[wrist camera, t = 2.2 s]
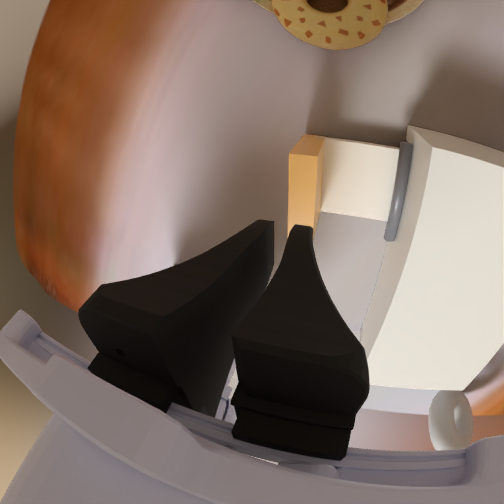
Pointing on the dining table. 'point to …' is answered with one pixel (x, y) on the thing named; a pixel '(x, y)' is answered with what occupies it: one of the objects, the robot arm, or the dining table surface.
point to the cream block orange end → (339, 179)
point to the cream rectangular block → (439, 267)
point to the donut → (450, 420)
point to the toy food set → (337, 19)
